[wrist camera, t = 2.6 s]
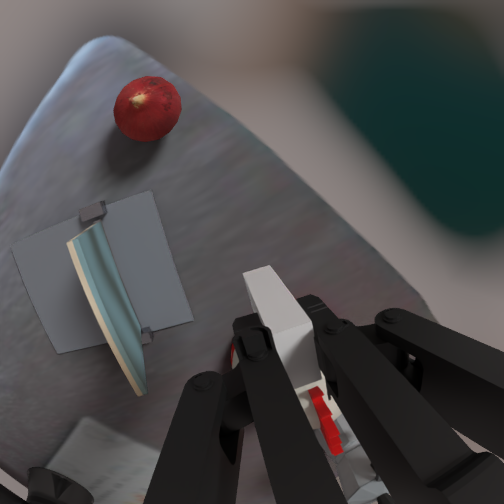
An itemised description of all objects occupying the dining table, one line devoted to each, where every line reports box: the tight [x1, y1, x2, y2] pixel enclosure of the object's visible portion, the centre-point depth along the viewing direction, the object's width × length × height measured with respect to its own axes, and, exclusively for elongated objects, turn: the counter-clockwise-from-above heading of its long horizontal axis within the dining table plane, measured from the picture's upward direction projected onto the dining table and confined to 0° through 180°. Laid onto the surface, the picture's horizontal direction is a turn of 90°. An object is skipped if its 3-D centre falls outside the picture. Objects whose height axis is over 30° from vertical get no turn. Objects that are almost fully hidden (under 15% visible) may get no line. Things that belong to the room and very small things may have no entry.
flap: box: [67, 219, 148, 397], centre depth 23 cm, size 13×12×1 cm
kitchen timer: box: [230, 343, 344, 456], centre depth 28 cm, size 14×14×15 cm
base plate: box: [10, 190, 194, 354], centre depth 29 cm, size 18×14×1 cm
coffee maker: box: [314, 414, 396, 504], centre depth 31 cm, size 15×9×18 cm, turn 5°
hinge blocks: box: [79, 201, 154, 344], centre depth 28 cm, size 2×15×1 cm, turn 14°
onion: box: [113, 76, 181, 142], centre depth 22 cm, size 6×6×8 cm
